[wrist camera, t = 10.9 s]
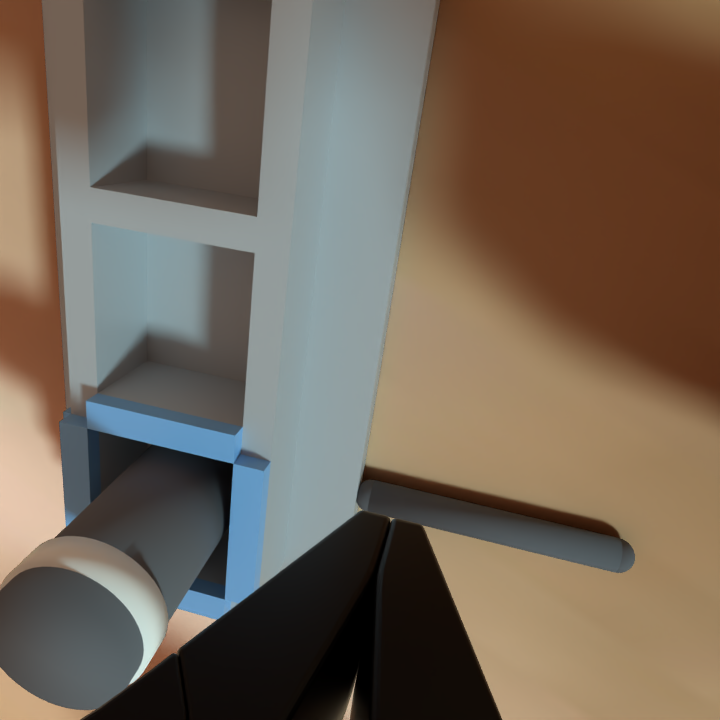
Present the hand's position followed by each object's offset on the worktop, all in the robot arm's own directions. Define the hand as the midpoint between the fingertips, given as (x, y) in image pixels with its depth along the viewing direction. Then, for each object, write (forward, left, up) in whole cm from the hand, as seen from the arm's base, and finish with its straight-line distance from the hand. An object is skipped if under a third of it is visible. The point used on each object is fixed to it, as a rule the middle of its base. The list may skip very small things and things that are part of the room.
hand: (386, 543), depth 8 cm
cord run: (-3, +8, -13) cm, 16 cm away
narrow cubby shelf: (+8, +1, -13) cm, 15 cm away
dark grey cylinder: (+8, +8, -12) cm, 16 cm away
